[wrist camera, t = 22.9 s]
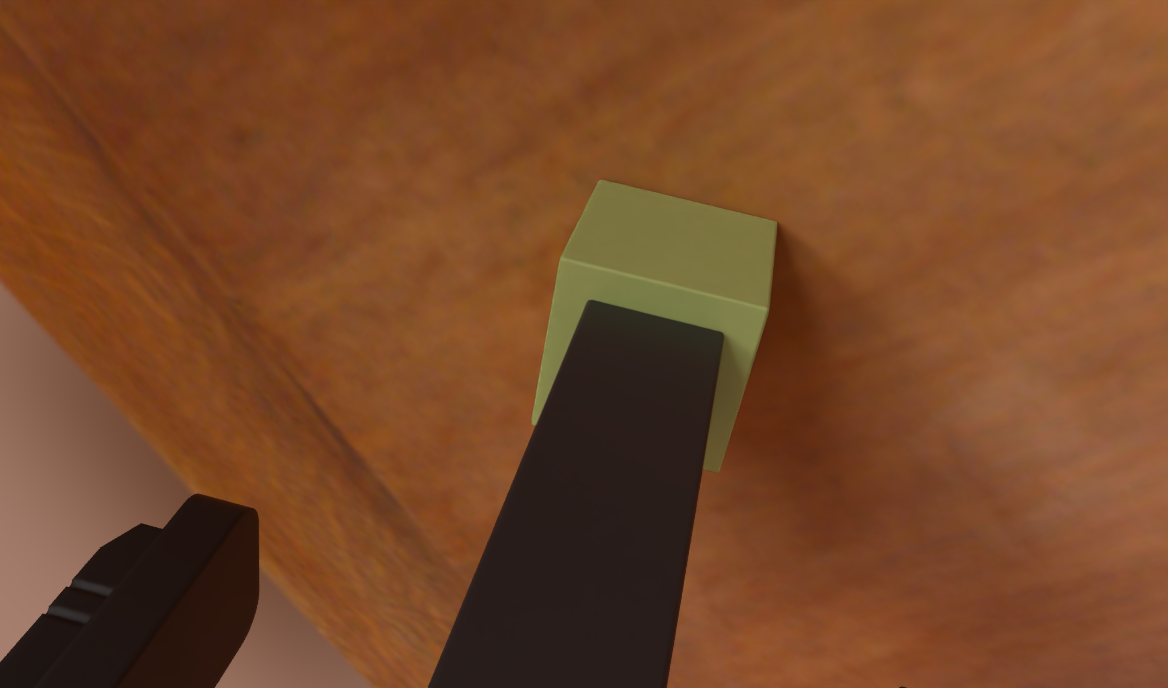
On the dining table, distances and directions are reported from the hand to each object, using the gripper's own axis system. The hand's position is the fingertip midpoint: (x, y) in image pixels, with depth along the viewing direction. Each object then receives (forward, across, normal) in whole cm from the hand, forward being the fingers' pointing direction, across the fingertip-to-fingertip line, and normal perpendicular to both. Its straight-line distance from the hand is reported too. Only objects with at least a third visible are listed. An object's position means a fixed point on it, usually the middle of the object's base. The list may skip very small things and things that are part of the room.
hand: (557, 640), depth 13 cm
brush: (+10, 0, 0) cm, 10 cm away
